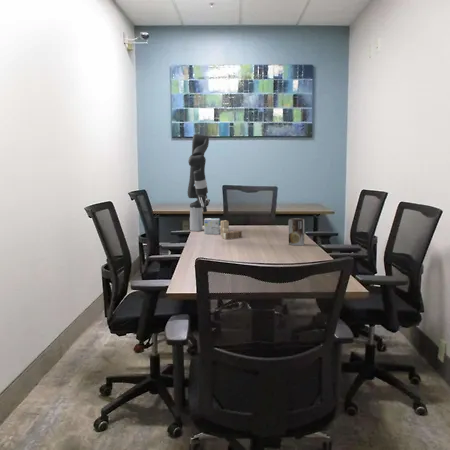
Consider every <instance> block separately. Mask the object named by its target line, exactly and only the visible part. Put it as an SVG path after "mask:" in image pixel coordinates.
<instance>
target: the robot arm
mask: <svg viewBox="0 0 450 450" xmlns="http://www.w3.org/2000/svg"><path fill="white" fill-rule="evenodd" d="M191 142H192V144H191V154H190V156H189V158H188V165H189V168H190V169H189V181H188V185H187V196H188V197H187V198H189V199H196V200H195V201H193V202H191V203H190V204H189V231H192V232H201V231H202V232H203V230H204V219H203V217H204V216H203V213H207V212H208V209H207V207H208V206H209V204H210V201H211V200H210V199H209V198H208V195H207V194H208V192H209V191H208V184H207V180H206V172H205V169H206V160H207V159H206V156H205V153H206V151H207V150H208V147H209V144H210V138H209V136H208V135H201V134H193V136H192V141H191Z"/></svg>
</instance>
